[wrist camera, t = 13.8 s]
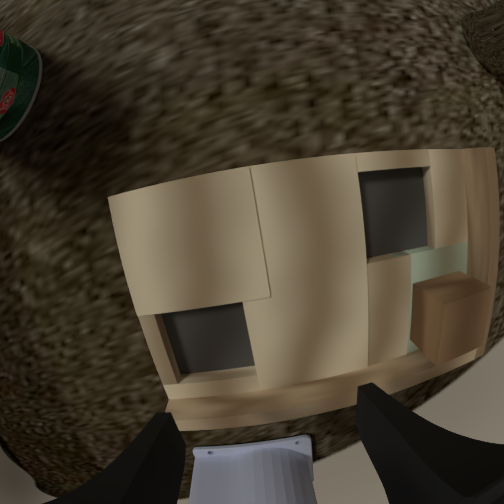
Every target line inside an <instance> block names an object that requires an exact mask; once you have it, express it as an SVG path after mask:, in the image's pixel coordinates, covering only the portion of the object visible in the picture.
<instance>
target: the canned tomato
mask: <svg viewBox="0 0 504 504" xmlns="http://www.w3.org/2000/svg"><path fill="white" fill-rule="evenodd" d="M42 70H43V69H42V59H41V55H40V53H39V52H38V50H37V49H35V48H34V47H33V46H29V45H27V44H25V43H23V42H22V41H20V40H18V39H16V38H14V37H13V36H10V35H9V34H7V33H4V32H2V31H1V30H0V142H1V141H3V140H5V139H7V138H8V137H9V136H11V135H12V134H13V133H14V132H15V131H16V130H17V129H18V127H19V126H20V125H21V123H22V122H23V121H24V119H25V118H26V116H27V114H28V113H29V111H30V109H31V107H32V105H33V103H34V101H35V98H36V96H37V93H38V90H39V87H40V83H41V78H42Z"/></svg>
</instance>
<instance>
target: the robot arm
mask: <svg viewBox="0 0 504 504" xmlns="http://www.w3.org/2000/svg"><path fill="white" fill-rule="evenodd" d="M355 422H356V425H357V428H358V432H359V435H360V438H361V440H362V443H363V445H364V447H365V449H366V451H367V453H368V455H369V457H370V459H371V461H372V463H373V465H374V467H375V469H376V471H377V473H378V475H379V477H380V480H381V482H382V484H383V486H384V489H385V492H386V495H387V497H388V501H389V504H504V444H495V443H489V442H484V441H479V440H475V439H472V438H468V437H465V436H462V435H459V434H456V433H453V432H451V431H448V430H446V429H444V428H442V427H439V426H437V425H435V424H433V423H431V422H429V421H427V420H426V419H424V418H422V417H421V416H419V415H417V414H416V413H414V412H413V411H411V410H410V409H408V408H407V407H405V406H404V405H402V404H401V403H399V402H398V401H397V400H395V399H394V398H393V397H391V396H390V395H389V394H387V393H386V392H385V391H383V390H382V389H381V388H379V387H378V386H377V385H376V384H374V383H373V382H371V383H368V384H364V385H360V386H358V390H357V404H356V417H355ZM185 449H186V444H185V442H184V440H183V438H182V436H181V433H180V431H179V429H178V427H177V425H176V422H175V420H174V418H173V416H172V413H171V412H157V413H156V414H155V415H154V416H153V418H152V419H151V420H150V421H149V422H148V423H147V425H146V426H145V427H144V428H143V429H142V431H141V432H140V433H139V434H138V435H137V437H136V438H135V439H134V440H133V441H132V442H131V443H130V444H129V446H128V447H127V448H126V449H125V450H124V451H123V452H122V453H121V454H120V455H119V456H118V457H117V458H116V459H115V460H114V461H113V462H112V463H111V464H110V465H109V466H107V467H106V468H105V469H104V470H103V471H101V472H100V473H99V474H98V475H96V476H95V477H94V478H92V479H91V480H89V481H88V482H86V483H84V484H83V485H81V486H80V487H78V488H77V489H75V490H73V491H71V492H69V493H67V494H65V495H63V496H61V497H59V498H57V499H54V500H52V501H49V502H46V503H43V504H177V500H178V495H179V490H180V485H181V481H182V476H183V471H184V465H185ZM193 454H194V456H195V462H194V469H193V476H192V484H191V491H190V498H189V504H317V501H316V497H315V492H314V488H313V483H312V482H313V480H314V479H313V461H312V446H311V437H310V436H309V435H300V436H295V437H289V438H283V439H277V440H270V441H263V442H255V443H247V444H237V445H225V446H209V447H195V448H194V449H193Z"/></svg>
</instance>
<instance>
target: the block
mask: <svg viewBox="0 0 504 504" xmlns="http://www.w3.org/2000/svg"><path fill="white" fill-rule="evenodd" d="M491 294H492V287H491V286H489V285H487V284H485V283H483V282H481V281H479V280H477V279H475V278H473V277H471V276H469V275H467V274H465V273H463V272H461V271H456V272H453V273H449V274H446V275H442V276H439V277H435V278H431V279H428V280H424V281H420V282H416V283H413V288H412V313H411V329H410V340H411V341H412V342H413V343H414V344H415V345H416V346H417V347H418V348H419V349H420V350H421V351H422V352H423V353H424V355H425V356H426V357H427V358H428V359H429V360H430V361H431V362H432V363H433V364H434V365H435V366H438V365H441V364H443V363H446V362H448V361H450V360H453V359H455V358H457V357H459V356H461V355H464V354H466V353H468V352H470V351H472V350H474V349H476V348H478V347H480V346H482V345H483V341H484V336H485V331H486V326H487V320H488V314H489V308H490V301H491Z"/></svg>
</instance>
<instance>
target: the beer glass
mask: <svg viewBox="0 0 504 504" xmlns="http://www.w3.org/2000/svg"><path fill="white" fill-rule="evenodd" d="M462 30H463V34H464V37H465V39H466V41H467V43H468V45H469V47H470V49H471V50H472V52H473V54H474V55H475V56H476V58H477V59H478V60H479V62H480V63H481V64H482V65H483V66H484V67H485V68H486V69H487V70H488V71H490V72H491V73H492V74H494V75H496V76H499V77H504V0H499V1H498V2H497V3H495V4H494V5H492V6H490V7H488V8H486V9H483V10H479V11H475V12H472V13H469V14H466V15H465V16H464V17H463V19H462Z"/></svg>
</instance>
